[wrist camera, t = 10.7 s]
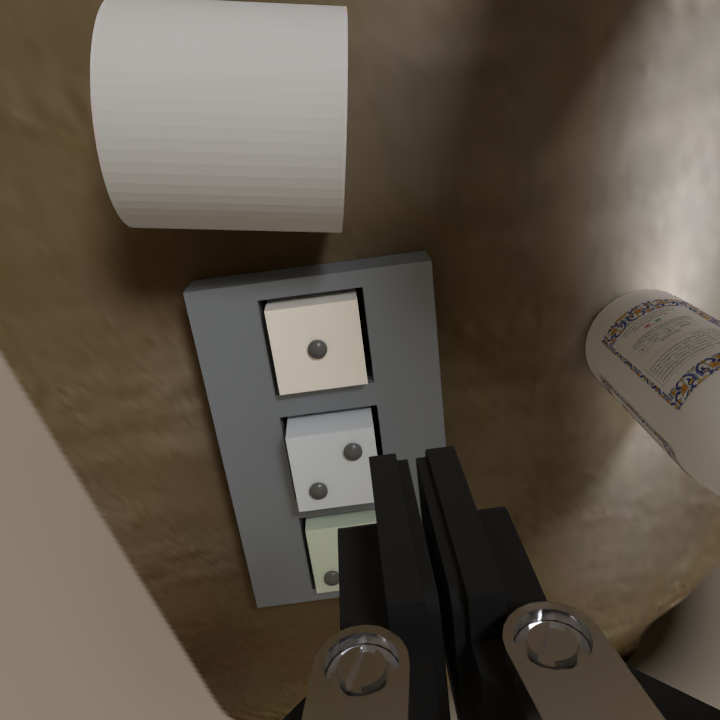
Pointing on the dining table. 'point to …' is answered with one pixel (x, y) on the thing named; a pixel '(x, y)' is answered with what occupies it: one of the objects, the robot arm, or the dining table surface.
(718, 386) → the bath foam
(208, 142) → the toilet paper
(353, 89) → the dining table surface
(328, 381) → the tile one
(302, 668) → the dining table surface
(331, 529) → the tile three
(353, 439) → the tile two
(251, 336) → the board
